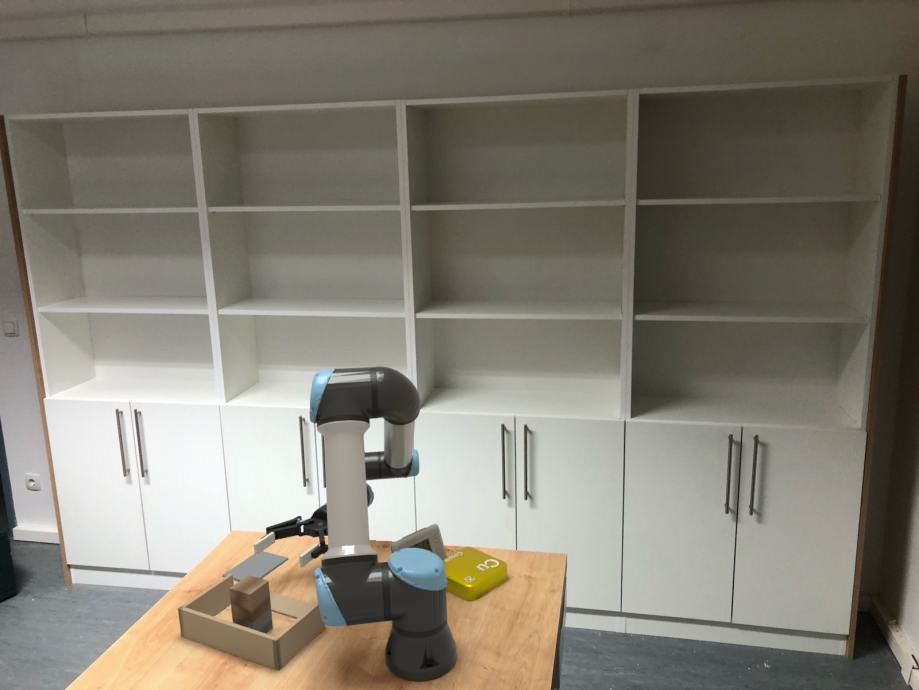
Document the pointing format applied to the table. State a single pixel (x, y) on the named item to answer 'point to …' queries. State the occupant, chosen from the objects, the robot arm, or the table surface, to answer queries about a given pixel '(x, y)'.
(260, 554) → the mat
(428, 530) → the digital clock
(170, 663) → the table surface
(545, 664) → the table surface
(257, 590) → the reflective metal box
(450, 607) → the table surface
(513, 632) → the table surface
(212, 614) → the cardboard walls
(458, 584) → the element tile
